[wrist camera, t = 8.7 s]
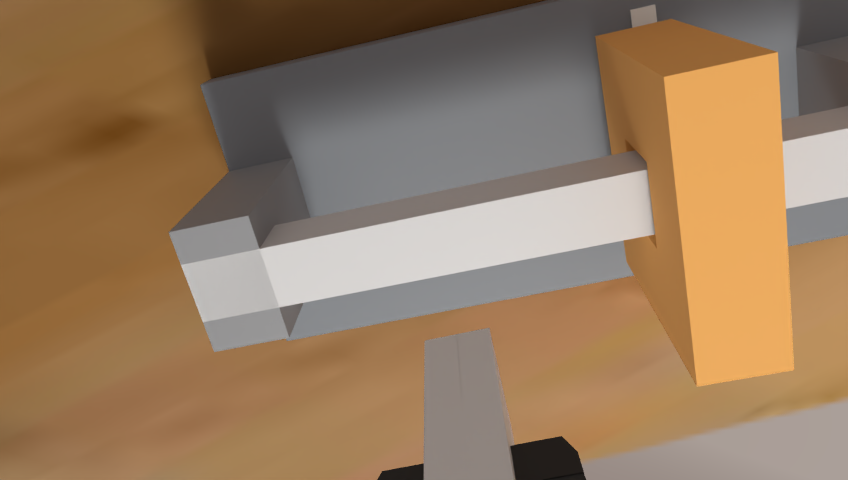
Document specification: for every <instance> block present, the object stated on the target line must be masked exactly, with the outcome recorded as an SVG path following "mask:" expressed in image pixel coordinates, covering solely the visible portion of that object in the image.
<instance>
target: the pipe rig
mask: <svg viewBox="0 0 848 480" xmlns="http://www.w3.org/2000/svg"><path fill="white" fill-rule="evenodd" d="M668 19H674V20H677V21H680V22H683V23H686V24H690V25H693V26H696V27H699V28H702V29H706V30H709V31H712V32H715V33H718V34H722V35H725V36H728V37H731V38H735V39H738V40H741V41H744V42H747V43H751V44H754V45H757V46H760V47H763V48H767V49H770V50H773V51H776V52H778V63H779V82H780V102H781V122H782V142H783V161H784V181H785V201H786V220H787V240H788V246H792V245H798V244H803V243H808V242H813V241H819V240H824V239H829V238H835V237H840V236H845V235H848V0H546V1H542V2H538V3H533V4H529V5H525V6H521V7H516V8H512V9H508V10H504V11H499V12H495V13H491V14H487V15H482V16H478V17H474V18H470V19H465V20H461V21H457V22H452V23H448V24H444V25H440V26H435V27H431V28H427V29H423V30H418V31H414V32H410V33H406V34H401V35H397V36H393V37H389V38H384V39H380V40H376V41H372V42H367V43H363V44H359V45H354V46H350V47H346V48H342V49H337V50H333V51H329V52H325V53H320V54H316V55H312V56H308V57H303V58H299V59H295V60H291V61H286V62H282V63H278V64H273V65H269V66H265V67H261V68H256V69H252V70H248V71H244V72H239V73H235V74H231V75H227V76H222V77H218V78H214V79H210V80H208V81H207V82H205V83H203V84H201V85H200V86H201V89H202V92H203V95H204V98H205V100H206V103H207V106H208V109H209V112H210V115H211V118H212V121H213V124H214V127H215V130H216V133H217V136H218V139H219V142H220V145H221V148H222V151H223V154H224V157H225V160H226V163H227V165H228V168H229V172H228V173H227V174H226V175H225V176H224V177H223V178H222V179H221V180H220V181H219V182H218V183H217V184H216V185H215V186H214V187H213V188H212V189H211V190H210V191H209V192H208V193H207V194H206V195H205V196H204V197H203V198H202V199H201V200H200V201H199V202H198V203H197V204H196V205H195V206H194V207H193V208H192V209H191V210H190V211H189V212H188V213H187V214H186V215H185V216H184V217H183V218H182V219H181V220H180V221H179V222H178V224H177V225H176V226H175V227H174V228H173V229H172V230H171V231H170V232H169V235H170V237H171V240H172V242H173V245H174V248H175V250H176V253H177V255H178V258H179V261H180V263H181V266H182V269H183V271H184V274H185V276H186V279H187V282H188V284H189V287H190V289H191V292H192V295H193V297H194V300H195V303H196V305H197V308H198V310H199V313H200V316H201V318H202V321H203V324H204V326H205V329H206V331H207V334H208V337H209V339H210V342H211V344H212V347H213V350H214V352H216V351H222V350H227V349H232V348H237V347H243V346H248V345H253V344H258V343H264V342H269V341H274V340H280V339H285V338H286V340H287V341H289V340H295V339H300V338H305V337H311V336H316V335H321V334H326V333H332V332H337V331H342V330H348V329H353V328H358V327H364V326H369V325H374V324H379V323H385V322H390V321H395V320H401V319H406V318H411V317H416V316H422V315H427V314H432V313H438V312H443V311H448V310H454V309H459V308H464V307H469V306H475V305H480V304H485V303H491V302H496V301H501V300H506V299H512V298H517V297H522V296H528V295H533V294H538V293H544V292H549V291H554V290H559V289H565V288H570V287H575V286H581V285H586V284H591V283H596V282H602V281H607V280H612V279H618V278H623V277H628V276H633V275H634V274H633V272H632V271H631V269H630V267H629V265H628V263H627V262H626V255H625V248H624V240H628V239H634V238H639V237H644V236H649V235H654V234H655V227H654V219H653V211H652V203H651V194H650V186H649V178H648V170H647V162H646V161H645V160H644V159H643V158H642V157H641V155H640V154H639V153H638V152H637V151H636V150H634V151H629V152H624V153H620V154H615V155H612V154H611V147H610V140H609V133H608V125H607V118H606V111H605V104H604V97H603V89H602V82H601V75H600V68H599V61H598V53H597V46H596V39H595V36H598V35H602V34H607V33H611V32H616V31H620V30H624V29H629V28H633V27H638V26H642V25H646V24H651V23H655V22H660V21H664V20H668Z"/></svg>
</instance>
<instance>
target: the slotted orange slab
mask: <svg viewBox="0 0 848 480" xmlns="http://www.w3.org/2000/svg"><path fill="white" fill-rule="evenodd" d="M595 39H596V46H597V53H598V61H599V68H600V75H601V82H602V89H603V97H604V104H605V111H606V118H607V125H608V133H609V140H610V147H611V154H612V155H615V154H620V153H624V152H629V151H634V150H636V151H637V152H638V153H639V154H640V155H641V157H642V158H643V159H644V160H645V161H646V162H647V170H648V178H649V186H650V194H651V203H652V211H653V219H654V227H655V234H654V235H649V236H644V237H639V238H634V239H628V240H624V248H625V255H626V262H627V263H628V265H629V267H630V269H631V271H632V272H633V274H634V276H635V278H636V279H637V281H638V283H639V285H640V286H641V288H642V290H643V292H644V294H645V295H646V297H647V299H648V301H649V302H650V304H651V306H652V308H653V309H654V311H655V313H656V315H657V317H658V318H659V320H660V322H661V324H662V325H663V327H664V329H665V331H666V332H667V334H668V336H669V338H670V340H671V341H672V343H673V345H674V347H675V348H676V350H677V352H678V354H679V355H680V357H681V359H682V361H683V363H684V364H685V366H686V368H687V370H688V371H689V373H690V375H691V377H692V378H693V380H694V382H695V384H696V386H703V385H709V384H715V383H721V382H727V381H733V380H738V379H744V378H750V377H756V376H762V375H768V374H774V373H780V372H786V371H791V370H794V358H793V339H792V319H791V299H790V279H789V260H788V240H787V220H786V201H785V181H784V161H783V142H782V122H781V102H780V82H779V63H778V52H776V51H773V50H770V49H767V48H763V47H760V46H757V45H754V44H751V43H747V42H744V41H741V40H738V39H735V38H731V37H728V36H725V35H722V34H718V33H715V32H712V31H709V30H706V29H702V28H699V27H696V26H693V25H690V24H686V23H683V22H680V21H677V20H674V19H668V20H664V21H660V22H655V23H651V24H646V25H642V26H638V27H633V28H629V29H624V30H620V31H616V32H611V33H607V34H602V35H598V36H595Z"/></svg>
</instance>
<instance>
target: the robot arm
mask: <svg viewBox="0 0 848 480" xmlns="http://www.w3.org/2000/svg"><path fill="white" fill-rule="evenodd" d="M377 480H586V478H585V476H584V472H583V468H582V465H581V462H580V458H579V455H578V452H577V451H576V450H575V449H574V448H573V447H572V446H571V445H570V444H569V443H568V442H567V441H566V440H565V439H564V438H563V437H562V436H560V437H555V438H550V439H544V440H539V441H533V442H528V443H523V444H517V445H514V440H513V434H512V428H511V423H510V419H509V414H508V410H507V405H506V401H505V396H504V392H503V387H502V383H501V379H500V374H499V370H498V365H497V361H496V356H495V352H494V347H493V343H492V338H491V334H490V329H489V328H486V329H481V330H476V331H471V332H466V333H461V334H456V335H451V336H446V337H441V338H436V339H431V340H426V341H425V376H424V464H419V465H414V466H408V467H403V468H397V469H392V470H387V471H382V473H381V474H380V476H379V478H378V479H377Z"/></svg>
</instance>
